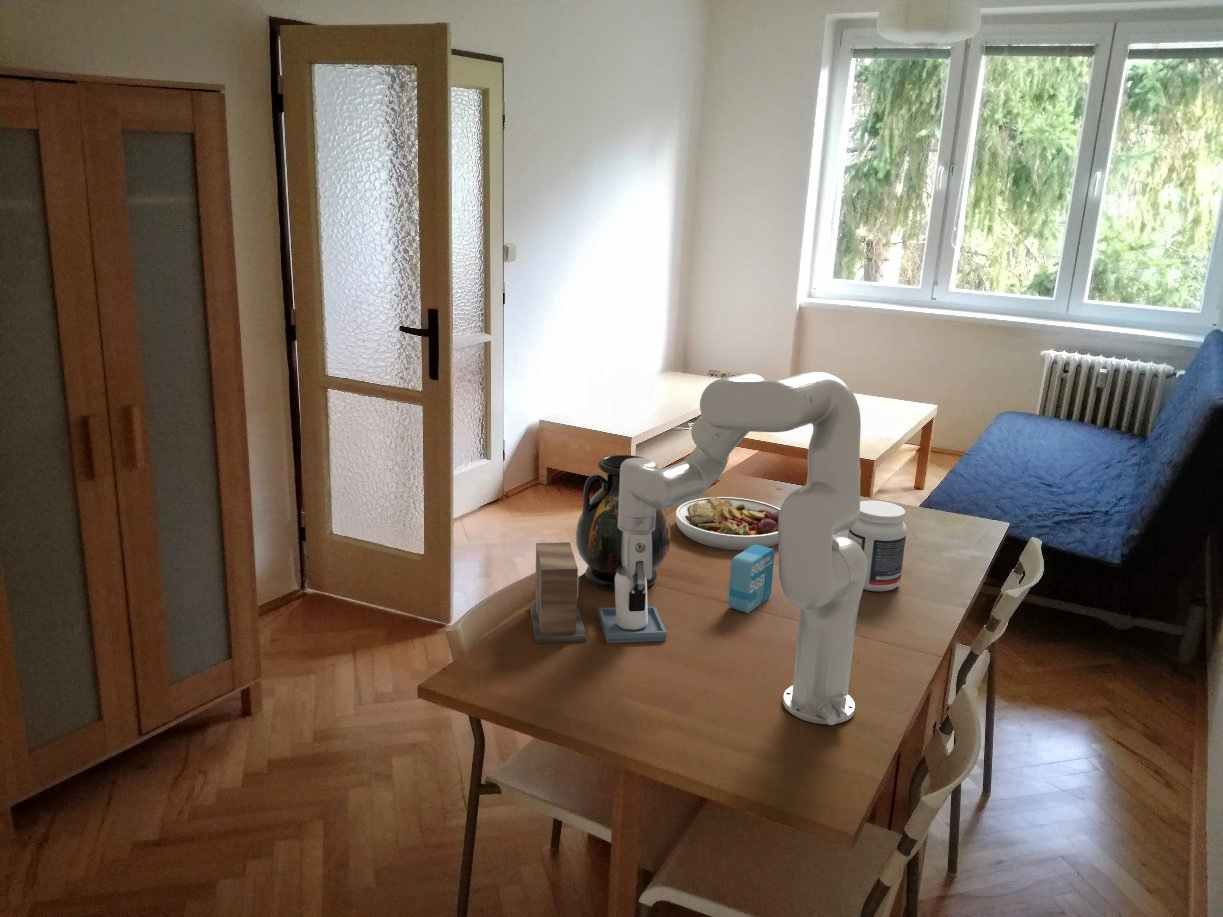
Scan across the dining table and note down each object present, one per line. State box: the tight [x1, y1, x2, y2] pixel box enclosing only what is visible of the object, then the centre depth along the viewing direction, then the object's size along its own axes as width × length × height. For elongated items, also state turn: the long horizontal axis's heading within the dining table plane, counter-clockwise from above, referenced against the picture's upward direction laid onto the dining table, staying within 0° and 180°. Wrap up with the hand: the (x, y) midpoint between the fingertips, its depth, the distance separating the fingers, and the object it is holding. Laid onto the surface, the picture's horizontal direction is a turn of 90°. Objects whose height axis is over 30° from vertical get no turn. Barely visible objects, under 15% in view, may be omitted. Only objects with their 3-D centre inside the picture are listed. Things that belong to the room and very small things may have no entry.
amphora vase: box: [575, 454, 672, 592], centre depth 222 cm, size 22×22×28 cm
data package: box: [727, 544, 775, 614], centre depth 214 cm, size 12×4×12 cm, turn 145°
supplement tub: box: [847, 500, 908, 592], centre depth 227 cm, size 13×13×18 cm
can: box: [614, 566, 648, 630], centre depth 200 cm, size 6×6×12 cm
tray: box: [598, 605, 668, 644], centre depth 202 cm, size 12×12×2 cm
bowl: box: [675, 496, 781, 551], centre depth 257 cm, size 30×30×8 cm
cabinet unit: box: [529, 541, 587, 644], centre depth 201 cm, size 16×10×15 cm, turn 9°
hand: (633, 601), depth 200 cm, fingers open, 7 cm apart
